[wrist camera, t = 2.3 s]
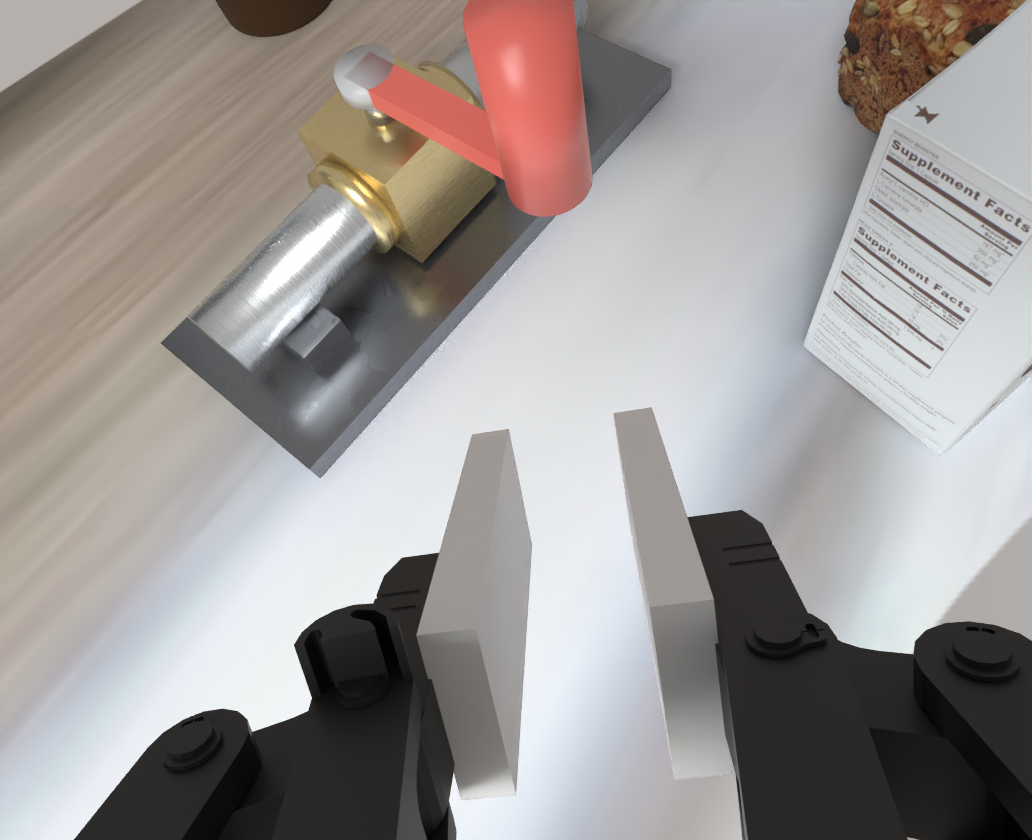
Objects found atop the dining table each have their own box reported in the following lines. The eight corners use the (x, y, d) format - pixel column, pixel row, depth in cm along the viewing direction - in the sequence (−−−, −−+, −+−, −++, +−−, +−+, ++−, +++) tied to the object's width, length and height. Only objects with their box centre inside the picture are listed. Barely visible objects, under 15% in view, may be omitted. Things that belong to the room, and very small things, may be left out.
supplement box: (939, 462, 38) (1126, 270, 23) (796, 347, 42) (875, 116, 27) (1065, 343, 40) (1321, 87, 24) (916, 242, 43) (1056, -35, 28)
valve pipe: (320, 478, 44) (225, 400, 34) (174, 354, 49) (57, 257, 39) (670, 87, 51) (674, -68, 41) (511, 16, 56) (481, -137, 47)
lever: (324, 99, 40) (239, -69, 32) (375, 50, 41) (305, -126, 33) (556, 231, 34) (525, 67, 26) (610, 171, 35) (596, -7, 27)
